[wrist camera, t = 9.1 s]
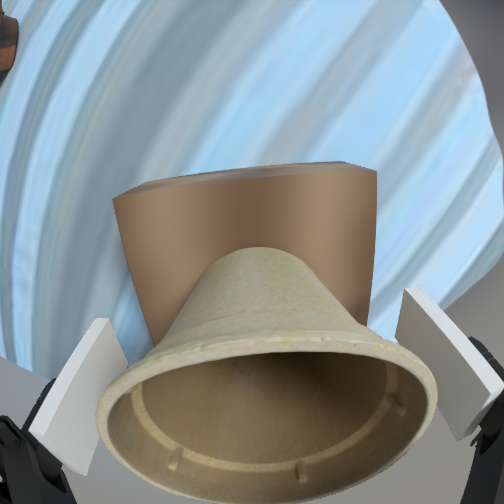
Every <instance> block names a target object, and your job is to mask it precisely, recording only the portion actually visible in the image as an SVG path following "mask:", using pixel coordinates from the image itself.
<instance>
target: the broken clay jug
mask: <svg viewBox="0 0 504 504" xmlns="http://www.w3.org/2000/svg"><path fill="white" fill-rule="evenodd" d="M18 27H19V26H18V21H17V19H16V18H11V17H9V16H6V15H4V12H3V10H2V0H0V72H1V71H5V70H9V69H11V68H12V65H13V61H14V56H15V49H16V43H17V35H18Z"/></svg>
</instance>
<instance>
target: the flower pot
mask: <svg viewBox="0 0 504 504" xmlns="http://www.w3.org/2000/svg"><path fill="white" fill-rule="evenodd" d="M437 399H438V395H437V385H436V382H435V379H434V376H433V374H432V372H431V371H430V370H429V368H428V367H427V366H426V365H425V363H424V362H423V361H422V360H421V359H420V358H419V357H417V356H416V355H415V354H414V353H412V352H411V351H409V350H408V349H406V348H404V347H403V346H401V345H399V344H396V343H394V342H392V341H389V340H385V339H383V338H382V337H381V336H379V335H378V334H376V333H375V332H374V331H372V330H371V329H369V328H367V327H365V326H363V325H361V324H359V323H357V321H356V320H355V319H354V318H353V317H352V316H351V315H350V314H349V312H348V311H347V310H346V309H345V308H344V307H343V306H342V304H341V303H340V302H339V301H338V300H337V299H336V298H335V297H334V296H333V294H332V293H331V292H330V291H329V290H328V289H327V288H326V287H325V286H324V284H323V283H322V282H321V281H320V280H319V279H318V278H317V276H316V275H315V273H314V272H313V271H312V270H311V269H310V268H309V267H308V266H307V265H306V264H305V263H304V262H303V261H302V260H300V259H299V258H297V257H295V256H294V255H292V254H289V253H287V252H285V251H282V250H279V249H274V248H268V247H251V248H244V249H240V250H237V251H234V252H232V253H230V254H228V255H227V256H225V257H223V258H221V259H219V260H218V261H217V262H215V263H214V264H212V265H211V266H210V267H209V268H208V269H207V270H206V271H205V272H204V274H203V275H202V277H201V278H200V280H199V282H198V284H197V286H196V287H195V289H194V290H193V292H192V293H191V295H190V296H189V298H188V300H187V301H186V303H185V304H184V306H183V308H182V309H181V311H180V312H179V314H178V316H177V317H176V319H175V320H174V322H173V324H172V325H171V327H170V329H169V330H168V332H167V333H166V335H165V337H164V338H163V340H162V341H161V342H160V343H159V344H158V345H156V346H155V347H154V348H152V349H151V350H150V351H149V352H148V353H147V354H146V355H145V356H144V357H143V358H142V359H141V360H139V361H137V362H136V363H134V364H133V365H131V366H129V367H128V368H126V369H125V370H124V371H122V372H121V373H120V374H119V375H118V376H117V377H115V378H114V379H113V381H112V382H111V383H110V384H109V386H108V387H107V388H106V390H105V391H104V393H103V394H102V396H101V398H100V400H99V402H98V405H97V408H96V414H95V417H96V421H95V423H96V427H97V431H98V434H99V436H100V438H101V440H102V442H103V443H104V445H105V446H106V448H107V449H108V450H109V452H110V453H111V454H112V455H113V457H114V458H116V460H118V461H119V462H120V463H121V464H122V465H123V466H125V467H126V468H127V469H129V470H130V471H131V472H132V473H134V474H135V475H136V476H138V477H139V478H141V479H142V480H144V481H146V482H148V483H150V484H152V485H154V486H156V487H158V488H160V489H162V490H164V491H167V492H170V493H173V494H175V495H179V496H181V497H187V498H190V499H192V500H196V501H201V502H208V503H212V504H297V503H302V502H307V501H311V500H315V499H318V498H322V497H326V496H329V495H333V494H336V493H339V492H342V491H344V490H347V489H349V488H351V487H353V486H356V485H358V484H361V483H362V482H365V481H366V480H368V479H370V478H372V477H374V476H375V475H377V474H379V473H381V472H383V471H384V470H386V469H387V468H388V467H390V466H391V465H393V464H394V463H395V462H396V461H397V460H399V459H400V458H401V457H402V456H404V455H405V454H406V453H407V452H408V451H409V450H410V449H411V448H412V446H414V444H415V443H416V442H417V441H418V440H419V439H420V437H421V436H422V434H423V433H424V432H425V430H426V429H427V427H428V425H429V423H430V422H431V420H432V418H433V415H434V411H435V409H436V405H437Z"/></svg>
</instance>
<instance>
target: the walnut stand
mask: <svg viewBox="0 0 504 504" xmlns="http://www.w3.org/2000/svg"><path fill="white" fill-rule="evenodd" d="M113 204H114V209H115V214H116V218H117V223H118V227H119V232H120V236H121V240H122V244H123V248H124V252H125V255H126V259H127V263H128V267H129V270H130V274H131V277H132V281H133V284H134V287H135V291H136V294H137V297H138V300H139V303H140V306H141V309H142V312H143V315H144V318H145V321H146V324H147V327H148V330H149V333H150V335H151V338H152V341H153V343H154V346H156V345H158V344H159V343H160V342H161V341H162V340H163V338H164V337H165V335H166V333H167V332H168V330H169V329H170V327H171V325H172V324H173V322H174V320H175V319H176V317H177V316H178V314H179V312H180V311H181V309H182V308H183V306H184V304H185V303H186V301H187V300H188V298H189V296H190V295H191V293H192V292H193V290H194V289H195V287H196V286H197V284H198V282H199V280H200V278H201V277H202V275H203V274H204V272H205V271H206V270H207V269H208V268H209V267H210V266H211V265H212V264H214V263H215V262H217V261H218V260H219V259H221V258H223V257H225V256H227V255H228V254H230V253H232V252H234V251H237V250H240V249H244V248H251V247H268V248H274V249H279V250H282V251H285V252H287V253H289V254H292V255H294V256H295V257H297V258H299V259H300V260H302V261H303V262H304V263H305V264H306V265H307V266H308V267H309V268H310V269H311V270H312V271H313V272H314V273H315V275H316V276H317V278H318V279H319V280H320V281H321V282H322V283H323V284H324V286H325V287H326V288H327V289H328V290H329V291H330V292H331V293H332V294H333V296H334V297H335V298H336V299H337V300H338V301H339V302H340V303H341V304H342V306H343V307H344V308H345V309H346V310H347V311H348V312H349V314H350V315H351V316H352V317H353V318H354V319H355V320H356V321H357V323H359V324H361V325H363V326H365V327H366V326H367V319H368V312H369V305H370V296H371V287H372V278H373V267H374V254H375V238H376V213H377V171H375V170H372V169H368V168H364V167H361V166H357V165H354V164H350V163H346V162H342V161H337V162H314V163H297V164H283V165H271V166H259V167H249V168H240V169H231V170H222V171H214V172H207V173H200V174H193V175H186V176H179V177H173V178H167V179H161V180H155V181H150V182H145V183H143V184H141V185H139V186H137V187H135V188H133V189H131V190H129V191H127V192H125V193H123V194H121V195H119V196H117V197H115V198H114V199H113Z"/></svg>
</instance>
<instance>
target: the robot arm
mask: <svg viewBox="0 0 504 504" xmlns="http://www.w3.org/2000/svg"><path fill="white" fill-rule="evenodd" d="M395 338H396V339H397V341H398V342H399V344H400V345H401V346H403V347H404V348H406V349H408V350H409V351H411V352H412V353H414V354H415V355H416V356H417V357H419V358H420V359H421V360H422V361H423V362H424V363H425V365H426V366H427V367H428V368H429V370H430V371H431V372H432V374H433V376H434V379H435V382H436V385H437V395H438V399H437V406H438V408H439V410H440V411H441V413H442V415H443V417H444V419H445V420H446V422H447V424H448V426H449V427H450V430H451V432H452V433H453V435H454V437H455V439H456V441H459V440H461V439H463V438H465V437H467V436H468V435H470V434H472V433H473V432H474V430H475V429H476V428H477V426H478V425H480V427H481V429H482V430H481V431H480V432H479V433H478V435H477V436H476V437H475V438H474V439H473V441H472V442H471V444H470V446H473V445H474V444H475V442H476V441H477V440H478V441H477V445H476V446H475V447H476V450H475V455H474V459H473V463H472V467H471V470H470V474H469V478H468V481H467V484H466V488H465V490H464V494H463V496H462V499H461V502H460V504H504V369H503V367H502V366H501V365H500V364H499V363H498V362H497V360H496V359H494V357H493V355H492V354H491V353H489V352H488V350H487V349H486V347H485V346H484V345H483V344H482V343H481V342H479V341H478V340H476V339H475V338H473V337H469V338H467V337H466V336H465V335H464V334H463V333H462V332H461V331H460V329H459V328H458V327H457V326H456V325H455V324H454V323H453V322H452V321H451V320H450V319H449V317H448V316H447V315H446V314H445V313H444V312H443V311H442V310H441V309H440V308H439V307H438V306H437V305H436V304H435V303H434V302H433V301H432V299H431V298H430V297H429V296H428V295H427V294H426V293H425V292H424V291H423V290H422V289H421V288H420V287H419V286H414V287H409V288H404V293H403V299H402V304H401V310H400V315H399V320H398V324H397V329H396V333H395ZM128 364H129V363H128V360H127V358H126V356H125V354H124V352H123V350H122V347H121V345H120V343H119V340H118V338H117V336H116V333H115V331H114V329H113V326H112V324H111V321H110V319H109V318H96V319H95V320H94V322H93V323H92V325H91V326H90V328H89V329H88V330H87V332H86V333H85V335H84V336H83V338H82V339H81V341H80V343H79V344H78V346H77V347H76V349H75V350H74V352H73V353H72V355H71V357H70V358H69V360H68V361H67V363H66V364H65V366H64V368H63V369H62V371H61V373H60V374H59V376H58V378H57V379H56V378H54V379H53V380H52V381H50V382H49V383H48V384H47V385H46V386H45V388H44V390H43V391H42V393H41V397H39V398H38V400H37V402H36V404H35V405H34V407H33V409H32V411H31V412H30V414H29V416H28V418H27V420H26V421H25V424H24V425H23V427H22V429H21V430H20V429H19V428H18V427H17V426H16V425H15V424H14V423H13V421H12V420H11V419H10V418H9V417H8V416H4V415H2V416H0V476H1V477H2V482H0V504H77V502H76V500H75V498H74V496H73V493H72V491H71V488H70V486H69V484H68V481H67V478H66V476H65V474H64V472H63V470H62V469H61V467H62V464H63V465H65V466H66V467H67V468H68V469H69V470H70V471H72V472H75V473H78V474H81V475H85V476H87V473H88V469H89V467H90V464H91V461H92V458H93V455H94V452H95V449H96V446H97V443H98V440H99V438H100V436H99V434H98V431H97V427H96V423H95V421H96V417H95V414H96V408H97V405H98V402H99V400H100V398H101V396H102V394H103V393H104V391H105V390H106V388H107V387H108V386H109V384H110V383H111V382H112V381H113V379H114V378H115V377H117V376H118V375H119V374H120V373H121V372H122V371H124V370H125V369H126V368H127V366H128Z"/></svg>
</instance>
